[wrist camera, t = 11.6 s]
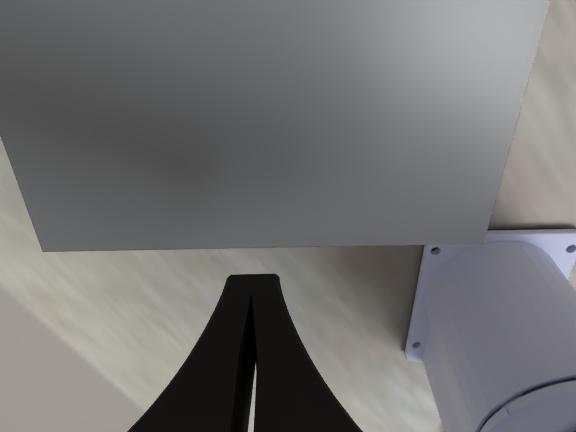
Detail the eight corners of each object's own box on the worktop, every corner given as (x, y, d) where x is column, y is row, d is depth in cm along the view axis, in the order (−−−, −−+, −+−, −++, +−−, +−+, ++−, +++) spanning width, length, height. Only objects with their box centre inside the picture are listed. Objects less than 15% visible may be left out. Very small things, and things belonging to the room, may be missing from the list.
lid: (471, 222, 20) (483, 243, 19) (55, 229, 20) (42, 251, 19) (577, -201, 13) (607, -207, 12) (-86, -198, 12) (-122, -204, 11)
